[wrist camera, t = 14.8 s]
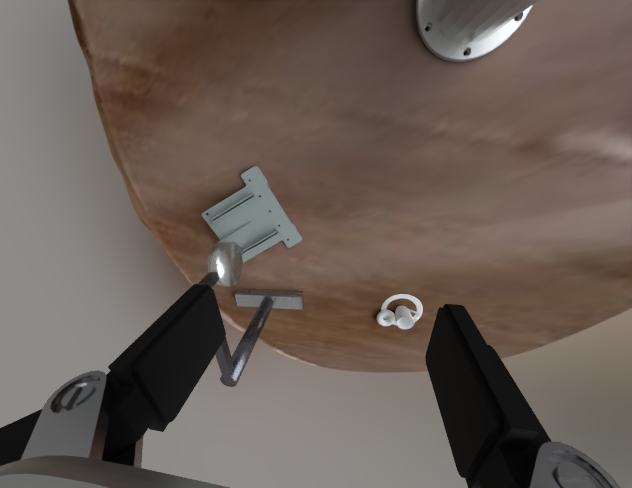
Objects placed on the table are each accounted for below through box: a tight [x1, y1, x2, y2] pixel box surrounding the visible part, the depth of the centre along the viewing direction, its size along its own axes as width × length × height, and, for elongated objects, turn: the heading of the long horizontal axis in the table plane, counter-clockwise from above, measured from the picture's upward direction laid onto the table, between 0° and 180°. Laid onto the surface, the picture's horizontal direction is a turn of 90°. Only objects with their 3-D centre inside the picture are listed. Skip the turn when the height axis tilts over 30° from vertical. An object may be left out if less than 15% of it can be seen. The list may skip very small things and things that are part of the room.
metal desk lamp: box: [198, 241, 304, 387], centre depth 37 cm, size 20×14×19 cm
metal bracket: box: [202, 166, 302, 263], centre depth 41 cm, size 14×6×15 cm
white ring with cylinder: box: [377, 294, 423, 329], centre depth 44 cm, size 9×8×4 cm
